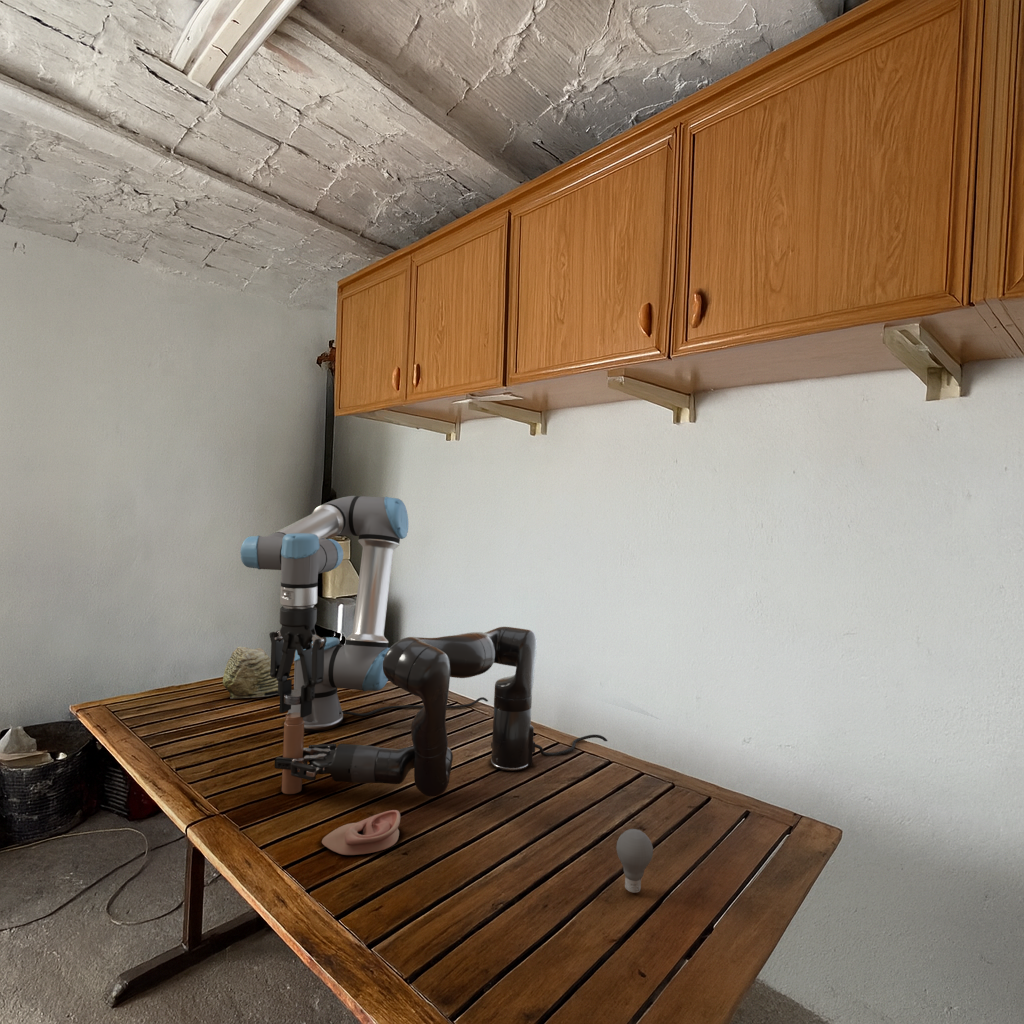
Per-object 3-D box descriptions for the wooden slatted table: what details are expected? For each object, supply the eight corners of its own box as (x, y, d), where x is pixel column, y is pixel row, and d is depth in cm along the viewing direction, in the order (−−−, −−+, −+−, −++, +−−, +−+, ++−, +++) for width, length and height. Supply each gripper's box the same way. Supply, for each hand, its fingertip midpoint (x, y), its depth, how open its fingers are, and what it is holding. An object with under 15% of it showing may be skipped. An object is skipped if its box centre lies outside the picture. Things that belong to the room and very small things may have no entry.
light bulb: (610, 879, 108) (613, 822, 108) (644, 879, 109) (647, 822, 109) (619, 902, 102) (622, 840, 102) (655, 901, 103) (658, 840, 103)
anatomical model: (313, 828, 113) (343, 799, 125) (313, 850, 113) (342, 819, 125) (383, 839, 111) (407, 808, 122) (382, 862, 111) (406, 829, 122)
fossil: (218, 695, 195) (220, 647, 195) (278, 685, 208) (279, 640, 207) (228, 703, 189) (230, 653, 188) (289, 692, 201) (290, 645, 201)
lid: (312, 701, 137) (312, 693, 137) (291, 706, 133) (291, 698, 133) (300, 695, 140) (300, 687, 140) (279, 701, 136) (279, 692, 136)
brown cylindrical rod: (277, 792, 135) (280, 716, 135) (289, 784, 139) (291, 710, 139) (294, 795, 134) (297, 719, 133) (305, 787, 138) (308, 713, 137)
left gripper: (253, 603, 136) (250, 711, 136) (321, 613, 129) (317, 726, 130) (278, 598, 142) (275, 701, 143) (344, 607, 136) (340, 714, 136)
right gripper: (368, 734, 142) (294, 729, 143) (348, 759, 128) (265, 754, 129) (367, 767, 142) (292, 761, 144) (346, 796, 128) (264, 790, 129)
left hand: (295, 712), depth 136 cm, fingers closed on lid, 5 cm apart
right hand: (280, 758), depth 136 cm, fingers closed on brown cylindrical rod, 4 cm apart
